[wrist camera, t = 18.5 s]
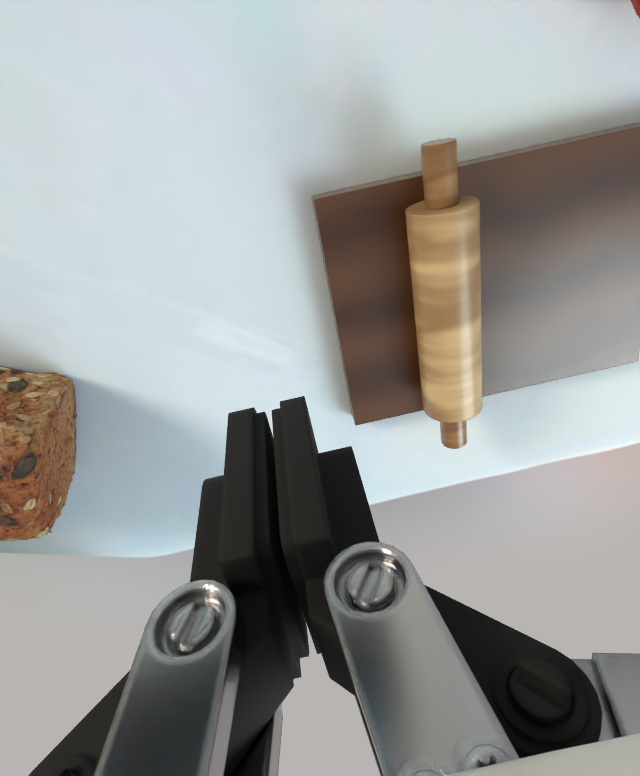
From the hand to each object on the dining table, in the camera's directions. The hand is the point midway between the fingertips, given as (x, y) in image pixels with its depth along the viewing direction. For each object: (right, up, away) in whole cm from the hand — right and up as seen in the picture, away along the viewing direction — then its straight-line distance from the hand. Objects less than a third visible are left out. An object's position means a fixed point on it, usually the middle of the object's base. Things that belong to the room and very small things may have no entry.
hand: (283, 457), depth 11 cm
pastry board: (+14, +9, +26) cm, 31 cm away
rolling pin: (+9, +8, +24) cm, 27 cm away
